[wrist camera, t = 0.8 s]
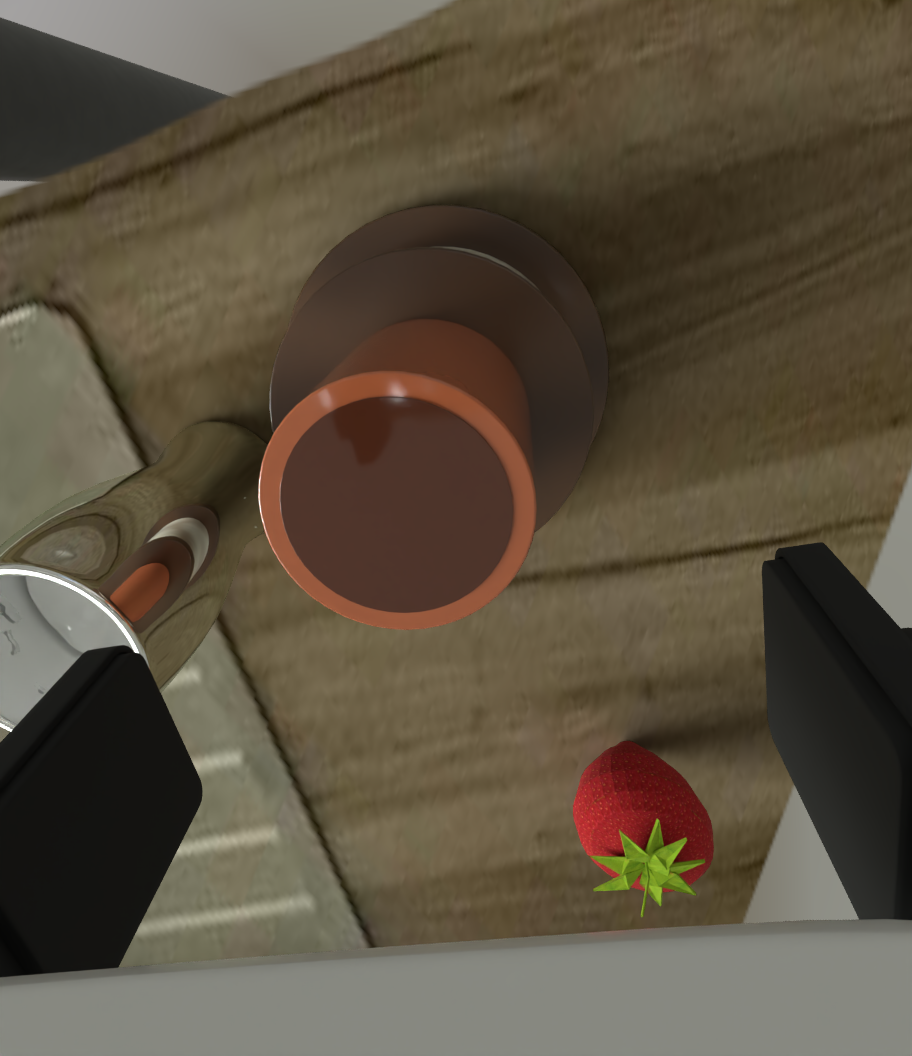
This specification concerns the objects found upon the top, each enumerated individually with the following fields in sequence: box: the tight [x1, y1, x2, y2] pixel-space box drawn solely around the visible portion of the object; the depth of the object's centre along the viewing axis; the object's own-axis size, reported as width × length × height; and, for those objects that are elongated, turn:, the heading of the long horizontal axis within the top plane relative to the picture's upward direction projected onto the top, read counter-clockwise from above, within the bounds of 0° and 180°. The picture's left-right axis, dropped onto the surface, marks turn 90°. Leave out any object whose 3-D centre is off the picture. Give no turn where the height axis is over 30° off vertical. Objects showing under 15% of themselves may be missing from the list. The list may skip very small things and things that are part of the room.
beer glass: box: [0, 421, 268, 732], centre depth 28 cm, size 7×7×15 cm
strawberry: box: [573, 741, 714, 917], centre depth 35 cm, size 6×8×10 cm
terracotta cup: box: [258, 319, 537, 630], centre depth 22 cm, size 7×7×8 cm
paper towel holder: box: [270, 205, 609, 533], centre depth 29 cm, size 14×14×7 cm
